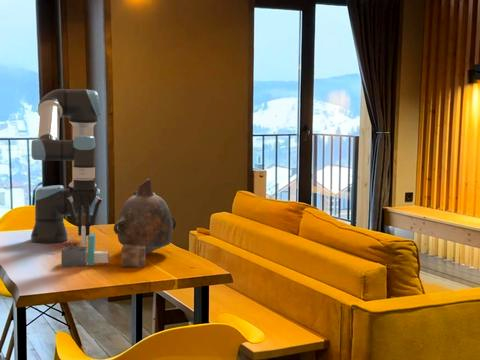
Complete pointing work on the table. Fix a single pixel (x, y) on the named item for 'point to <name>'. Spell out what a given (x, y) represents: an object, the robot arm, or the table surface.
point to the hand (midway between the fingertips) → (83, 244)
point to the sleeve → (73, 257)
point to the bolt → (95, 252)
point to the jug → (145, 220)
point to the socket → (133, 255)
